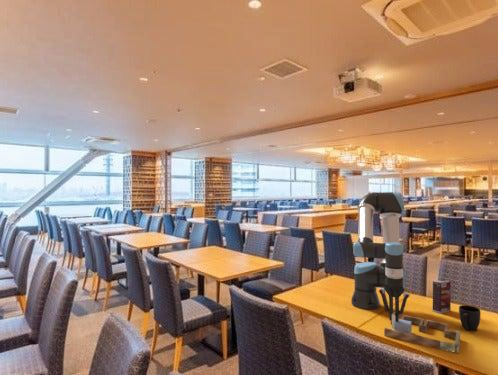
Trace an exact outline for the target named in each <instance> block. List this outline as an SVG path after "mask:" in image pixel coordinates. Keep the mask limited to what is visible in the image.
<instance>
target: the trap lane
mask: <svg viewBox="0 0 498 375" xmlns="http://www.w3.org/2000/svg"><path fill="white" fill-rule="evenodd" d="M401 315H402V316H401V317H400V319H402V320H407V321H412V325H415V326H416V325H417V326H418V332H421V333H425V334H427V332H428V329H429V328H430V329H434V330H439V331H444V332H443V333H444V335H443V337H444V338H447V339H451V340H455V341H454V343H451V342H448V341H443V340H439V339H434V338H430V337H426V336H422V335H418V334H417V335H416V334H413V333H411V334H409V333H405V332H401V331H396V330H395V329H392V328H387V327H384V328H383V329H384V330H383V332H384V336H385V337H390V338H394V339H397V340H401V341H404V342H408V343H409V342H410V343H412V344H413V343H414V344H417V345H422V346H426V347H430V348H433V349H437V348H438V349H437V350H441V349H443V350H442V351H445V350H448V351H447V352H449V351H454V352H457V353H460V343H461V342H460V341H461V331H460V330H456V331H455V330H450V324H449V323H445V322H439V321H435V320H432V319H431V320H430V319H424V318H421V317H415V316H410V315H405V314H401ZM390 326H392V321H391V320H390ZM457 353H456V354H457Z"/></svg>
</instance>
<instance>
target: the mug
mask: <svg viewBox="0 0 498 375" xmlns="http://www.w3.org/2000/svg"><path fill="white" fill-rule="evenodd" d="M458 314H459V320H460V323H461V327H462V329H463V330H465V331H469V332H477V331H478V328H479V326H480V323H481V322H480V321H481V310H480V308H478V307H476V306H473V305H467V304H466V305H465V304H462V305H459V306H458Z"/></svg>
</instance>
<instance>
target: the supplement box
mask: <svg viewBox="0 0 498 375" xmlns="http://www.w3.org/2000/svg"><path fill="white" fill-rule="evenodd" d="M451 286H452V285H451V281H450V280H446V279H439V280H433V281H432V312H435V313H438V314H444V313H448V312H451V310H452V309H451V308H452V306H451V302H452V300H451V294H452V292H451V289H452V288H451Z"/></svg>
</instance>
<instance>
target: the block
mask: <svg viewBox="0 0 498 375" xmlns="http://www.w3.org/2000/svg"><path fill="white" fill-rule="evenodd" d="M394 325H395V329H394V330H396V331H401V332H405V333H409V334H413V332H412V330H413V329H412V325H413V324H412V321H407V320H402V319H401V318H399V321H398V322H396V321H395V323H394Z"/></svg>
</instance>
